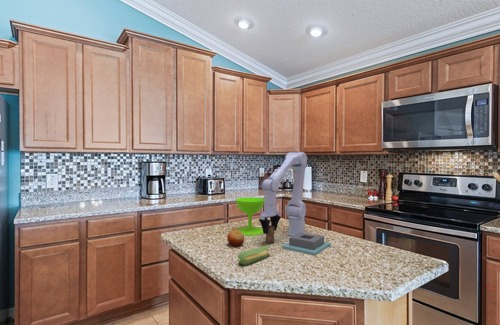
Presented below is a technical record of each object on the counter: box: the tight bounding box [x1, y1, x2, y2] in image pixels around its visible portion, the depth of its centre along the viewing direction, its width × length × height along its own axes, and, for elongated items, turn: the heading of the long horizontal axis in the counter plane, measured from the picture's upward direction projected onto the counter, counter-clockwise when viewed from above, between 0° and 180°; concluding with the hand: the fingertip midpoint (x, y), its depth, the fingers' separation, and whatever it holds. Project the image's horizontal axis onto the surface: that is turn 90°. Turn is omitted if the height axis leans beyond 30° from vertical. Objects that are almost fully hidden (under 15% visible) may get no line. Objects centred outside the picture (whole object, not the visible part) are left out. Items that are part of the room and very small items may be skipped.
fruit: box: [226, 229, 245, 248], centre depth 136 cm, size 8×8×8 cm
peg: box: [265, 224, 275, 245], centre depth 139 cm, size 4×4×8 cm
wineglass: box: [235, 197, 264, 237], centre depth 160 cm, size 16×16×18 cm
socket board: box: [281, 232, 332, 256], centre depth 133 cm, size 18×16×4 cm
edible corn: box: [237, 244, 271, 266], centre depth 116 cm, size 5×20×5 cm
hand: (269, 232), depth 139 cm, fingers open, 7 cm apart
